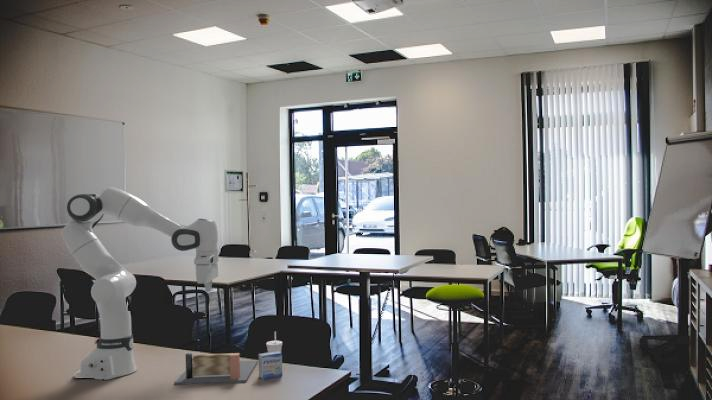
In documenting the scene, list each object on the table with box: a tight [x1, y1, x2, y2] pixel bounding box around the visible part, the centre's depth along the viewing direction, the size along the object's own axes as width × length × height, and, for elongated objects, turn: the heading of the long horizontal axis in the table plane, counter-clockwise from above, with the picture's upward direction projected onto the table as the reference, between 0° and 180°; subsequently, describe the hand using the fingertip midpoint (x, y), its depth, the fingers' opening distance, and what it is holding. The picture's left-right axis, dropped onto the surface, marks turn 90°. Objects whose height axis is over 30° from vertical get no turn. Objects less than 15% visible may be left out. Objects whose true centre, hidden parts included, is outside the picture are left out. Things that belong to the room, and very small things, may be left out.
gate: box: [192, 352, 241, 376], centre depth 202 cm, size 17×2×8 cm, turn 91°
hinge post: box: [185, 352, 193, 379], centre depth 202 cm, size 2×2×10 cm
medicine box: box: [257, 351, 283, 380], centre depth 203 cm, size 8×4×9 cm, turn 117°
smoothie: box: [265, 331, 283, 353], centre depth 214 cm, size 6×6×14 cm
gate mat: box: [173, 360, 259, 385], centre depth 209 cm, size 26×24×1 cm
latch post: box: [230, 352, 241, 379], centre depth 199 cm, size 3×2×10 cm
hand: (208, 291), depth 224 cm, fingers closed
